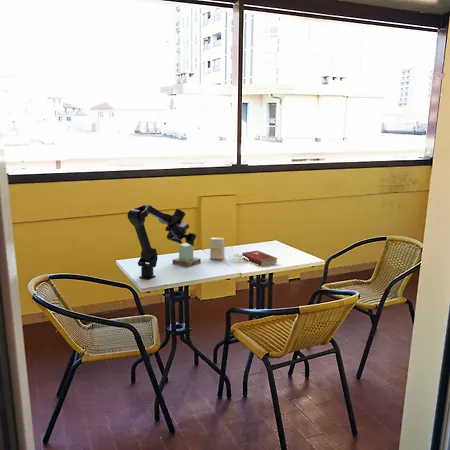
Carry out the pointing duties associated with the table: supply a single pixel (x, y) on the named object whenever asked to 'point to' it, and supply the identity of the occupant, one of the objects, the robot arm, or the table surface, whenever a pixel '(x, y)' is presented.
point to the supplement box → (217, 248)
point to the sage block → (185, 252)
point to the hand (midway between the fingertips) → (187, 244)
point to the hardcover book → (260, 258)
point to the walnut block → (187, 262)
